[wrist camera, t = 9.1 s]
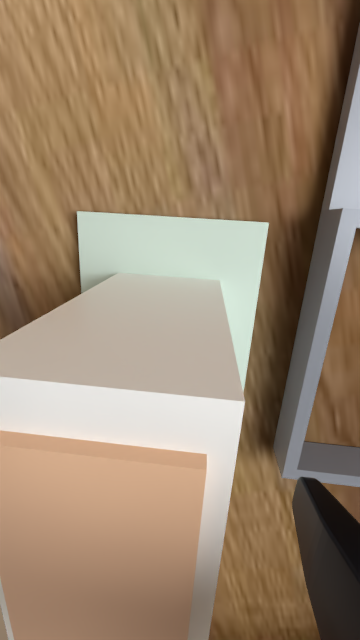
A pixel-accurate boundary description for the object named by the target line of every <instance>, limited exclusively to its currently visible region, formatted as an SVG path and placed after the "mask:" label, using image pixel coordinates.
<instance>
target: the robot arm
mask: <svg viewBox="0 0 360 640" xmlns="http://www.w3.org/2000/svg"><path fill="white" fill-rule="evenodd" d="M292 508H293V514H294V520H295V526H296V531H297V537H298V543H299V548H300V554H301V560H302V565H303V571H304V576H305V581H306V585H307V589H308V593H309V597H310V601H311V605H312V608H313V612H314V616H315V619H316V623H317V627H318V630H319V634H320V638H321V640H360V523H359V522H358V521H357V520H356V519H355V518H354V517H353V516H352V515H351V514H350V513H349V512H348V511H347V510H346V509H345V508H344V507H343V506H342V505H341V504H340V502H339V501H338V500H337V499H336V498H335V497H334V496H333V495H332V494H331V493H330V492H329V491H328V490H327V489H326V488H325V487H324V486H323V485H322V484H321V483H320V482H319V481H318V480H317V479H315V478H310V477H299V478H298V480H297V484H296V488H295V492H294V496H293V501H292Z"/></svg>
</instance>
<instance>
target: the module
mask: <svg viewBox="0 0 360 640" xmlns="http://www.w3.org/2000/svg"><path fill="white" fill-rule="evenodd" d="M244 404H245V400H244V395H243V390H242V385H241V380H240V376H239V371H238V366H237V361H236V356H235V351H234V347H233V342H232V337H231V332H230V327H229V322H228V318H227V313H226V308H225V303H224V298H223V294H222V289H221V284H220V280H210V279H196V278H183V277H169V276H156V275H142V274H129V273H117V274H116V275H114V276H112V277H110V278H108V279H107V280H105V281H103V282H101V283H100V284H98V285H96V286H94V287H93V288H91V289H89V290H87V291H86V292H84V293H82V294H80V295H78V296H77V297H75V298H73V299H71V300H70V301H68V302H66V303H64V304H63V305H61V306H59V307H57V308H55V309H54V310H52V311H50V312H48V313H47V314H45V315H43V316H41V317H40V318H38V319H36V320H34V321H33V322H31V323H29V324H27V325H25V326H24V327H22V328H20V329H18V330H17V331H15V332H13V333H11V334H10V335H8V336H6V337H4V338H3V339H1V340H0V606H1V610H2V614H3V619H4V623H5V627H6V631H7V636H8V640H208V638H209V632H210V625H211V619H212V612H213V606H214V599H215V593H216V586H217V580H218V573H219V567H220V560H221V554H222V547H223V541H224V534H225V528H226V521H227V515H228V508H229V502H230V495H231V489H232V482H233V476H234V469H235V463H236V456H237V450H238V443H239V437H240V430H241V424H242V417H243V411H244Z"/></svg>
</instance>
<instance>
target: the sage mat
mask: <svg viewBox="0 0 360 640" xmlns="http://www.w3.org/2000/svg"><path fill="white" fill-rule="evenodd" d="M77 224H78V241H79V259H80V277H81V294H82V293H84V292H86V291H87V290H89V289H91V288H93V287H94V286H96V285H98V284H100V283H101V282H103V281H105V280H107V279H108V278H110V277H112V276H114V275H116V274H117V273H129V274H142V275H156V276H169V277H183V278H196V279H210V280H220V284H221V289H222V294H223V298H224V303H225V308H226V313H227V318H228V322H229V327H230V332H231V337H232V342H233V347H234V351H235V356H236V361H237V366H238V371H239V376H240V380H241V385H242V390H243V392H244V386H245V379H246V372H247V366H248V359H249V352H250V346H251V339H252V332H253V326H254V319H255V312H256V306H257V299H258V292H259V286H260V279H261V272H262V266H263V259H264V252H265V246H266V239H267V232H268V226H269V223H266V222H249V221H233V220H216V219H199V218H183V217H166V216H149V215H133V214H116V213H99V212H82V211H77Z"/></svg>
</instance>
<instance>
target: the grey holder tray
mask: <svg viewBox="0 0 360 640" xmlns="http://www.w3.org/2000/svg"><path fill="white" fill-rule="evenodd" d="M356 228H360V23H359V28H358V33H357V38H356V43H355V48H354V53H353V58H352V62H351V67H350V72H349V77H348V82H347V87H346V92H345V97H344V102H343V107H342V111H341V116H340V121H339V126H338V131H337V136H336V141H335V146H334V151H333V156H332V161H331V165H330V170H329V175H328V180H327V185H326V190H325V195H324V200H323V205H322V210H321V215H320V219H319V224H318V229H317V234H316V239H315V244H314V249H313V254H312V259H311V264H310V268H309V273H308V278H307V283H306V288H305V293H304V298H303V303H302V308H301V313H300V318H299V322H298V327H297V332H296V337H295V342H294V347H293V352H292V357H291V362H290V367H289V372H288V376H287V381H286V386H285V391H284V396H283V401H282V406H281V411H280V416H279V421H278V425H277V430H276V435H275V440H274V445H273V449H274V452H275V456H276V459H277V463H278V466H279V469H280V473H281V476H282V478H289V479H297V480H298V478H299V477H310V478H315V479H317V480H318V481H319V482H322V483H331V484H339V485H348V486H356V487H360V448H358V447H348V446H339V445H330V444H321V443H312V442H304V439H305V435H306V431H307V426H308V422H309V418H310V414H311V410H312V406H313V402H314V398H315V394H316V390H317V386H318V382H319V378H320V374H321V369H322V365H323V361H324V357H325V353H326V349H327V345H328V341H329V337H330V333H331V329H332V325H333V321H334V316H335V312H336V308H337V304H338V300H339V296H340V292H341V288H342V284H343V280H344V276H345V272H346V268H347V264H348V259H349V255H350V251H351V247H352V243H353V239H354V235H355V231H356Z"/></svg>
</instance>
